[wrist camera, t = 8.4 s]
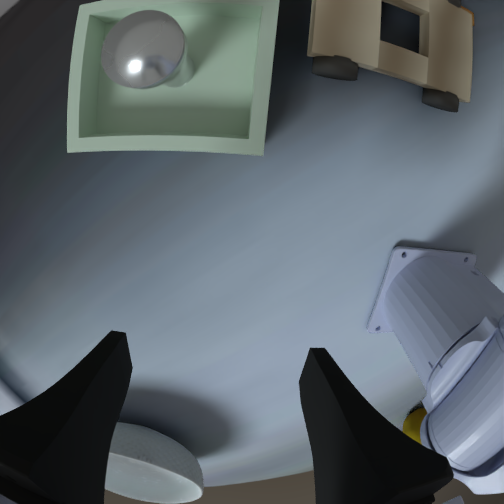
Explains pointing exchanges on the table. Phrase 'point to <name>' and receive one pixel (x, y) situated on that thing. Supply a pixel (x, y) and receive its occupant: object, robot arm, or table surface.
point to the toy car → (391, 56)
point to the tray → (181, 98)
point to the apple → (414, 424)
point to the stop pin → (147, 52)
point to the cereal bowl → (151, 467)
